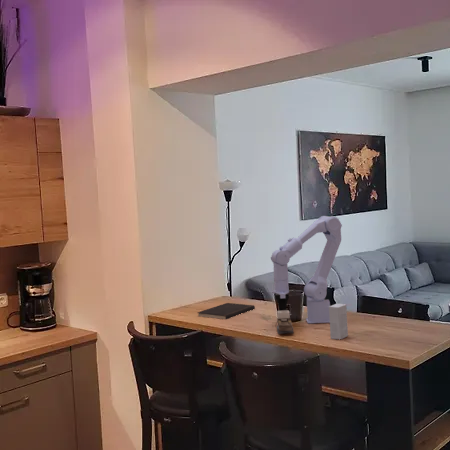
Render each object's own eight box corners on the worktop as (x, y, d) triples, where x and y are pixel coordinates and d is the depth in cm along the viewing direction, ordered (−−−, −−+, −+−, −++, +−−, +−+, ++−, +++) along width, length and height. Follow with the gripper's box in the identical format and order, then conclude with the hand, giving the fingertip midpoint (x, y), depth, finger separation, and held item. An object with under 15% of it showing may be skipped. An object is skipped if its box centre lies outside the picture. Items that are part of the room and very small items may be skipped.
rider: (289, 318, 234) (288, 310, 234) (289, 320, 230) (289, 312, 230) (277, 318, 234) (277, 310, 234) (278, 321, 230) (277, 312, 230)
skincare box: (337, 334, 218) (336, 303, 217) (348, 336, 215) (346, 304, 214) (329, 338, 213) (328, 306, 212) (340, 340, 210) (338, 307, 209)
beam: (291, 326, 234) (290, 316, 234) (294, 335, 220) (293, 324, 220) (276, 327, 234) (275, 317, 234) (278, 336, 220) (277, 325, 220)
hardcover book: (197, 317, 263) (197, 312, 263) (227, 307, 281) (227, 302, 281) (226, 320, 253) (225, 315, 253) (255, 310, 272) (254, 305, 272)
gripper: (270, 277, 243) (272, 309, 244) (272, 282, 229) (273, 317, 230) (287, 276, 243) (288, 308, 244) (289, 282, 228) (291, 316, 229)
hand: (282, 312), depth 237 cm, fingers closed
